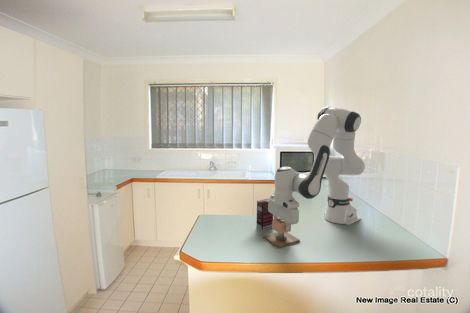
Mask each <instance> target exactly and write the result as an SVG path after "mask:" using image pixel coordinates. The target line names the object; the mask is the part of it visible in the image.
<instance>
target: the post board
mask: <svg viewBox="0 0 470 313" xmlns="http://www.w3.org/2000/svg"><path fill="white" fill-rule="evenodd" d="M279 222H280V223H283V222H285V221H284V220H279ZM262 239H263V240H265V241H266V242H267V243H269V244H270V245H272V246H273V247H275V248H276V249H280V248H283V247H287V246H290V245H294V244H298V243H300V242H301V240H300V239H299V238H297V237H296V236H294V235H293V234H291V233H290V232H286V233H282V234H280V233H278V232H274V233H270V234H266V235H262Z"/></svg>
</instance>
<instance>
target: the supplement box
mask: <svg viewBox="0 0 470 313" xmlns="http://www.w3.org/2000/svg"><path fill="white" fill-rule="evenodd" d="M269 200H270V198H265V199H261V200H256V229H257V230H259V231H261V232H263V231H266V229H267V230H269V229H272V219H274V217H273V214H272V213H270V212H269V211H268V203H269Z"/></svg>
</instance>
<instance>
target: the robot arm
mask: <svg viewBox="0 0 470 313" xmlns="http://www.w3.org/2000/svg"><path fill="white" fill-rule="evenodd" d="M316 119H317V120H316V123H315V124H314V126H313V127H312V130H311V131H310V133H309V136H308V139H307V146H308V148H309V149H310V151H311V152H312V153H313V155H314V160H313V163H312V165H311V168H310V172H309V174H308V175H307V174H305V173H302V172H299V171H296V170H295V169H293V167H290V166H282V167H279V168H277V169H276V171H275V173H274V175H275V176H274V188H275V189H274V192H273V195H270V197H269V199H270V200H269V203H268V211H269V212H270V213H272V214H273V219H277V218H281V219H283V220H284V221H286V223H287V224H286V226H285V229H286V230H289V226H290V225H291V226H292V225H297V224H298V223H299V220H300V211H299V207H300V203H299V201H297V200H296V199H295V198H294V197H293V193H297V194H299V195H301V196H302V197H303V198H305V199H306V200H307V199H309V200H310V199H311V200H312V199H314V198H316V197H317V196H318V195H319V194H320V192H321V190H322V180H323V178H324V176H325V178H326V180H327V182H328V194H327V203H326V205H325V206H326V207H325V212H324V214H323V215H324V217H323V219H324V220H326V221H327V222H330V223H333V224H340V225H348V226H350V225H352V224H354V223H356V222H359V221H360V220H361V219H362V218H361V217H360V215H357V214H358V212H357V208H355V207H354V206H353V205H352V204H351V202H353V200H354V198H353V197H349V193H350V191H349V190H350V185H349V184H348V182H346V181H345V180H343V179H341V178H340V177H339V176H360V175H362V174H363V173H364V170H365V169H366V165H365V164H366V163H365V161H364V160H363V159H362V158H361V157H359V155H357V153H356V151H355V138H356V131H358V130H359V128H360V126H361V124H362V117H361V114H359V113H358V112H355V111H351V110H347V109H344V108H340V107H339V108H338V107H332V106H324V107H322V108H321V109H319V111H318V114H317V118H316ZM331 145H332V148H333V150H334V151H335V152H336V153H337V154H340V155H341V156H340V155H331V150H330V149H331Z"/></svg>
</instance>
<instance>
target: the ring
mask: <svg viewBox="0 0 470 313" xmlns="http://www.w3.org/2000/svg"><path fill="white" fill-rule="evenodd" d="M279 220H283V219H281V218H279V217H278V218H277V219H274V218H273V219H272V228H271V229H272V230H273V231H275V233H277V232H278V233H280V234H282V233H286V232H287V233H290V232H292V224H291V225H290V226H289V230H286V229H285V226H286V224H287V223H286V221H285V222H283V223H280V222H279Z"/></svg>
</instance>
